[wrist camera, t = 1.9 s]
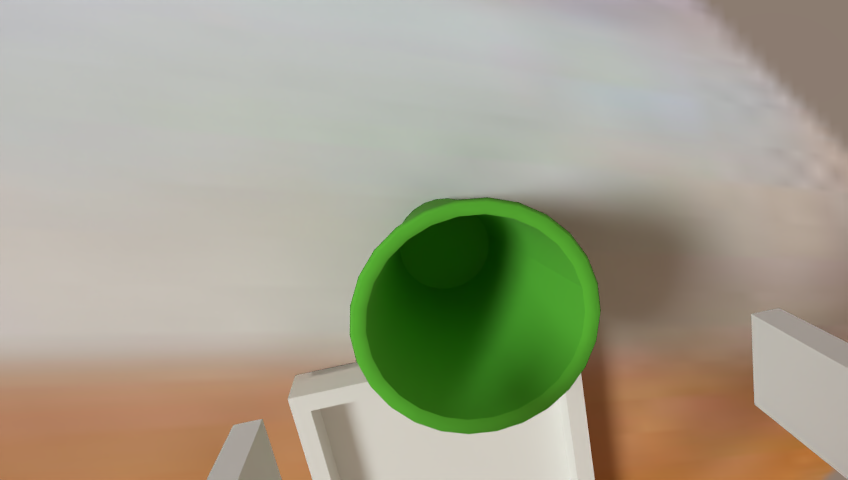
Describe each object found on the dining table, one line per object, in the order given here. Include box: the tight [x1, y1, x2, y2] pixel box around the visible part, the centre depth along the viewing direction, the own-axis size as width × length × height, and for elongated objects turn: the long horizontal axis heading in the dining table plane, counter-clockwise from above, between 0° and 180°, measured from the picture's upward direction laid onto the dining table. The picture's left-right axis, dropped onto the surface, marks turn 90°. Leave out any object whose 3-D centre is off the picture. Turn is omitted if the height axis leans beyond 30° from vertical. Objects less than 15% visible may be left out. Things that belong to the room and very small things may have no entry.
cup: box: [350, 197, 601, 434], centre depth 23 cm, size 9×9×11 cm
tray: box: [288, 362, 595, 480], centre depth 31 cm, size 16×16×2 cm
